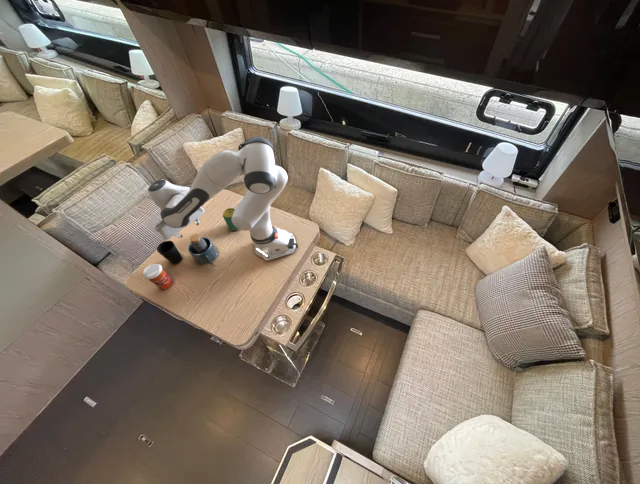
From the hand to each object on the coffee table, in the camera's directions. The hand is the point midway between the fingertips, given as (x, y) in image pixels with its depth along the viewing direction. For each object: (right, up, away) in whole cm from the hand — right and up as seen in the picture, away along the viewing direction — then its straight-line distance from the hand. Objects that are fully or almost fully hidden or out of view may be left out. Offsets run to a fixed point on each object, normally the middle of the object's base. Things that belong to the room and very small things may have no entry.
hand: (189, 230), depth 131 cm
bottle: (-1, -14, +17) cm, 21 cm away
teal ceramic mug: (0, -15, +16) cm, 22 cm away
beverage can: (+9, +1, +30) cm, 32 cm away
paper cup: (-15, -27, +6) cm, 31 cm away
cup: (-16, -16, +15) cm, 27 cm away
